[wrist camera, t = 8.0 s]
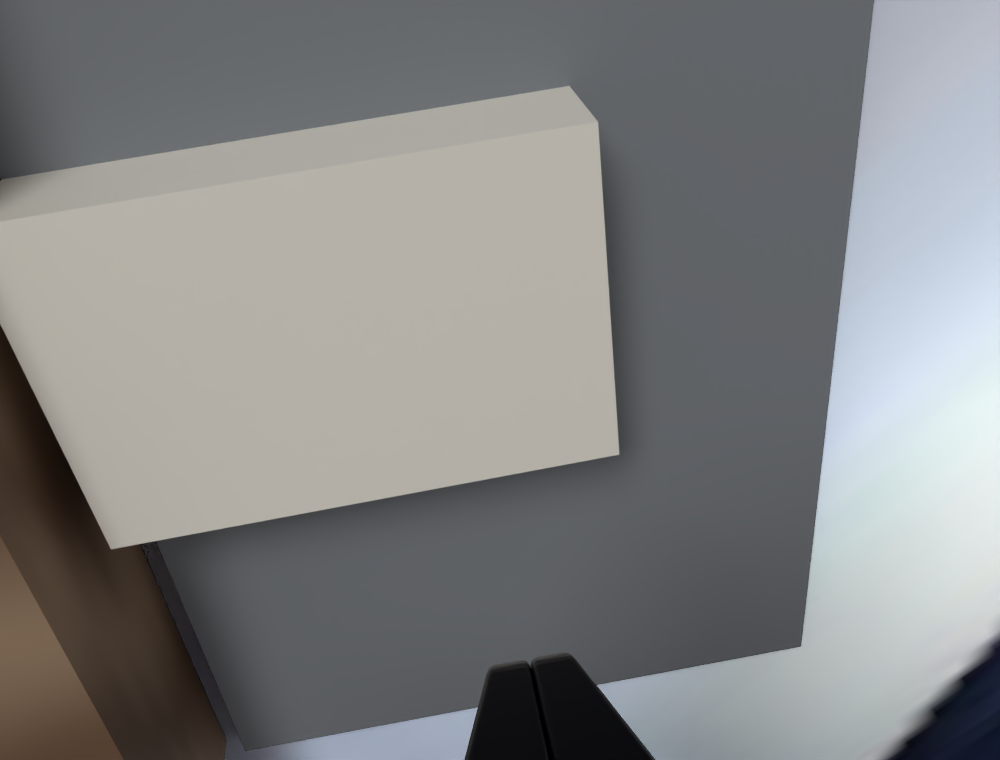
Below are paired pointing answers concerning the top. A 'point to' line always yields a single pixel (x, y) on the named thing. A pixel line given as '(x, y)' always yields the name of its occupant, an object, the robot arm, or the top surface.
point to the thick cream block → (317, 313)
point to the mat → (634, 325)
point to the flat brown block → (81, 617)
